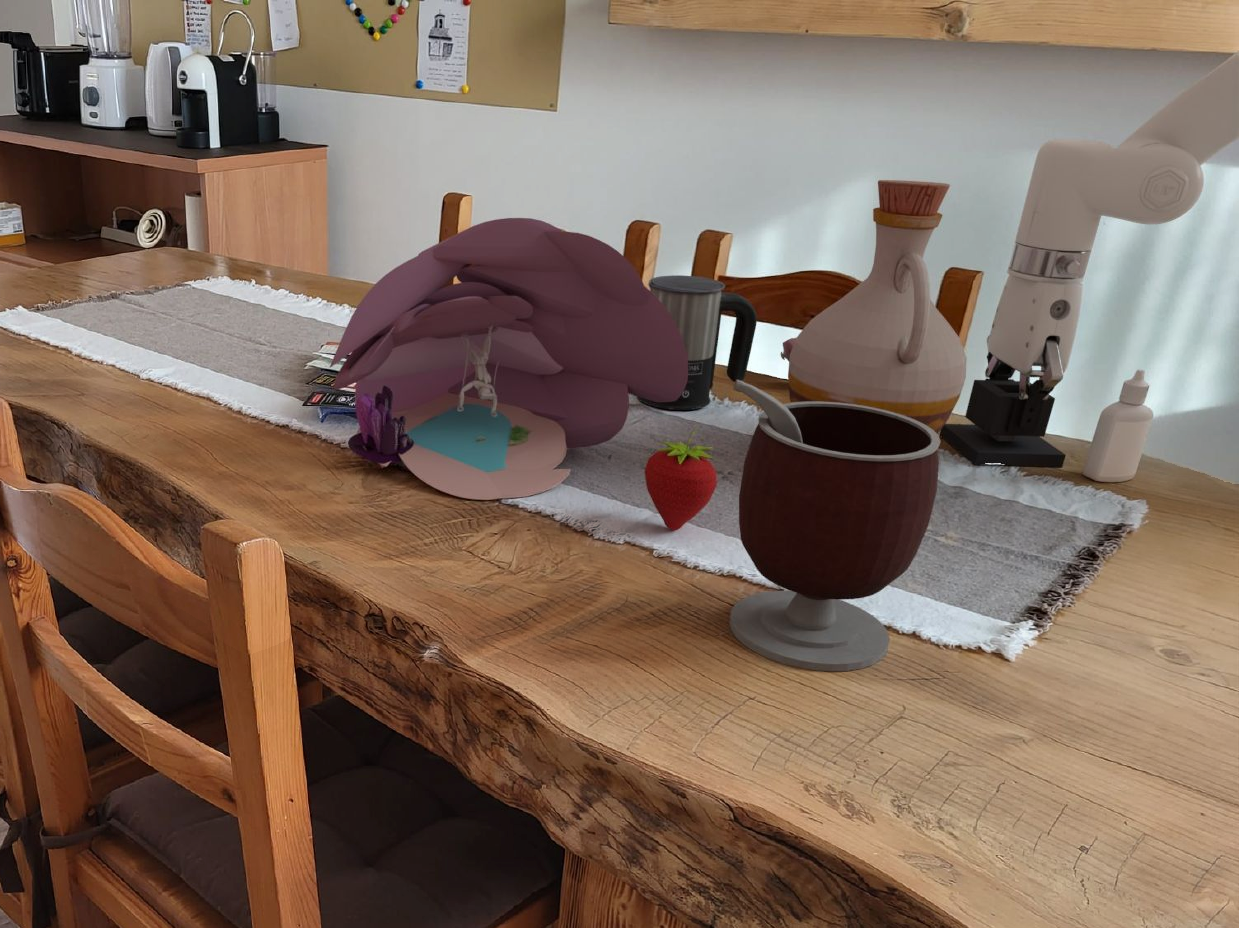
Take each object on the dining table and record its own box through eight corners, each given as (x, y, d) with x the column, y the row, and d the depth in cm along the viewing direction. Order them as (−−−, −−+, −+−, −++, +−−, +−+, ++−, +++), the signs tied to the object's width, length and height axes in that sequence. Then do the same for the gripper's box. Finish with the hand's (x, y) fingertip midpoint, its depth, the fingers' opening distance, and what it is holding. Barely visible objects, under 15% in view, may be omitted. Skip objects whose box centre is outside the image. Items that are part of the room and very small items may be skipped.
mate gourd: (883, 603, 98) (936, 371, 89) (913, 686, 86) (978, 428, 77) (697, 583, 101) (730, 355, 92) (700, 662, 88) (739, 408, 79)
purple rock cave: (388, 566, 113) (393, 293, 95) (289, 447, 128) (277, 192, 110) (674, 478, 127) (726, 226, 109) (554, 380, 142) (582, 145, 124)
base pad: (1021, 437, 140) (1034, 389, 137) (1062, 467, 131) (1077, 416, 128) (939, 435, 139) (950, 386, 137) (975, 465, 130) (988, 413, 128)
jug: (971, 506, 119) (1051, 199, 106) (796, 498, 119) (853, 191, 106) (910, 442, 137) (972, 172, 123) (758, 435, 137) (802, 164, 123)
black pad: (1018, 418, 137) (1028, 381, 135) (1044, 437, 131) (1055, 398, 129) (964, 417, 136) (974, 379, 134) (988, 435, 131) (998, 396, 129)
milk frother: (661, 415, 142) (676, 292, 136) (594, 379, 155) (605, 265, 148) (755, 404, 148) (774, 286, 141) (683, 370, 161) (698, 260, 154)
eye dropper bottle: (1141, 487, 126) (1176, 378, 121) (1085, 481, 127) (1118, 373, 122) (1129, 473, 130) (1162, 367, 124) (1075, 467, 131) (1106, 362, 125)
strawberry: (670, 510, 115) (683, 412, 111) (723, 537, 110) (739, 436, 105) (623, 520, 112) (635, 421, 108) (676, 549, 107) (690, 446, 102)
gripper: (1126, 281, 118) (1075, 449, 126) (1043, 249, 133) (1003, 400, 141) (1053, 278, 118) (1007, 447, 126) (979, 246, 133) (942, 398, 141)
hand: (1005, 421), depth 133 cm, fingers closed on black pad, 6 cm apart
